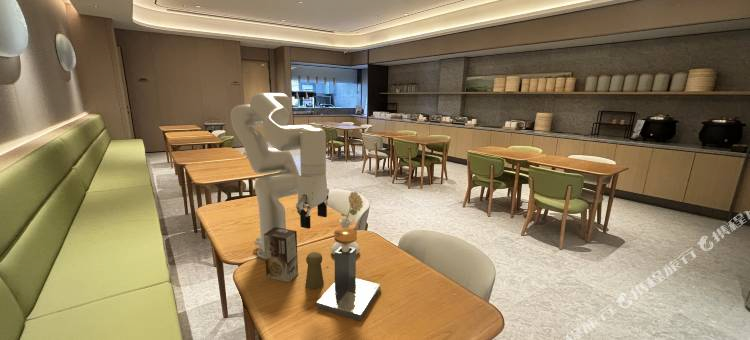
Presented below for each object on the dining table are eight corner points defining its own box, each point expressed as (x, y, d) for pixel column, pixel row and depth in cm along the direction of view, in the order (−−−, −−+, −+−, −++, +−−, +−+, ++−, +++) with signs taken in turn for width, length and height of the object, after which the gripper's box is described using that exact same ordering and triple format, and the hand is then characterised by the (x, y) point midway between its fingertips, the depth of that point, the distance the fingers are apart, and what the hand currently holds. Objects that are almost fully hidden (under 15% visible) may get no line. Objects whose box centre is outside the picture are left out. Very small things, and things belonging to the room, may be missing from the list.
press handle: (330, 273, 99) (330, 234, 96) (340, 262, 106) (340, 226, 102) (350, 278, 97) (350, 239, 94) (359, 267, 103) (360, 230, 100)
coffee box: (298, 273, 111) (297, 230, 107) (288, 283, 105) (286, 238, 102) (276, 268, 114) (274, 226, 110) (265, 277, 108) (262, 233, 104)
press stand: (316, 307, 94) (316, 265, 90) (341, 279, 108) (342, 242, 105) (360, 321, 89) (361, 276, 85) (380, 289, 103) (381, 250, 100)
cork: (320, 290, 102) (319, 259, 99) (302, 288, 103) (301, 257, 100) (326, 280, 107) (326, 250, 105) (309, 277, 109) (309, 248, 106)
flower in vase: (341, 263, 119) (341, 199, 113) (325, 251, 127) (325, 191, 121) (368, 253, 127) (370, 193, 121) (352, 242, 135) (353, 186, 129)
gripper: (317, 162, 105) (318, 210, 109) (285, 174, 89) (287, 230, 93) (337, 164, 102) (337, 214, 107) (308, 177, 87) (309, 234, 91)
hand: (314, 221), depth 100 cm, fingers open, 9 cm apart
